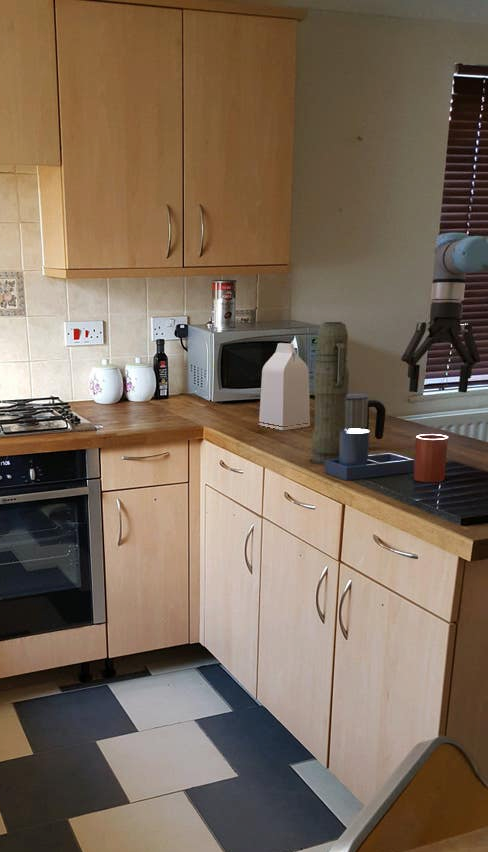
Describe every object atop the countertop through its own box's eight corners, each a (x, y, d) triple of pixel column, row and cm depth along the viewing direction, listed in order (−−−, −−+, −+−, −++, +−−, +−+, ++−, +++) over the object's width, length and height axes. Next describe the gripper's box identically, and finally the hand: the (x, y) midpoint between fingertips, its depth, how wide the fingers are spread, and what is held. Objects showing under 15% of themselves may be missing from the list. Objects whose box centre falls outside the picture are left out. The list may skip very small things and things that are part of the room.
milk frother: (345, 453, 238) (347, 398, 234) (315, 444, 252) (316, 392, 247) (389, 448, 243) (392, 394, 238) (357, 439, 257) (359, 388, 252)
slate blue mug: (373, 473, 212) (375, 431, 208) (348, 476, 209) (350, 434, 206) (357, 467, 218) (358, 427, 215) (332, 470, 215) (334, 430, 212)
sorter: (413, 472, 214) (414, 459, 213) (346, 480, 208) (346, 467, 207) (389, 464, 223) (390, 452, 222) (324, 472, 216) (324, 460, 215)
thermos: (331, 455, 237) (335, 320, 225) (355, 463, 226) (361, 322, 215) (302, 458, 234) (305, 322, 222) (325, 466, 223) (329, 324, 212)
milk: (258, 425, 286) (259, 343, 278) (285, 422, 292) (287, 341, 284) (282, 430, 277) (284, 345, 268) (310, 426, 282) (312, 343, 274)
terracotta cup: (450, 480, 204) (454, 437, 201) (426, 483, 202) (429, 440, 199) (431, 474, 211) (434, 433, 207) (407, 477, 208) (410, 436, 205)
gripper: (483, 304, 217) (474, 391, 222) (392, 301, 211) (384, 390, 217) (501, 303, 210) (491, 393, 215) (407, 299, 204) (399, 392, 209)
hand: (438, 392), depth 216 cm, fingers open, 13 cm apart
